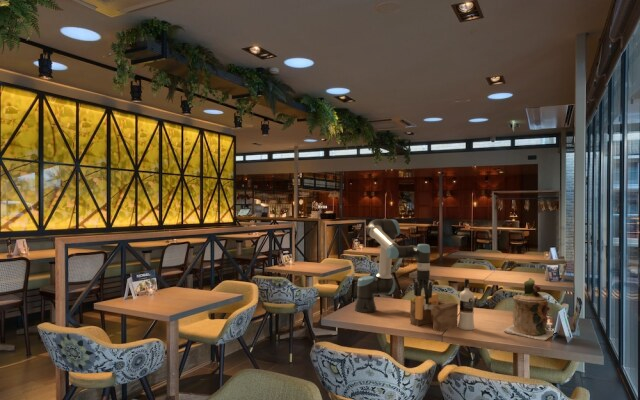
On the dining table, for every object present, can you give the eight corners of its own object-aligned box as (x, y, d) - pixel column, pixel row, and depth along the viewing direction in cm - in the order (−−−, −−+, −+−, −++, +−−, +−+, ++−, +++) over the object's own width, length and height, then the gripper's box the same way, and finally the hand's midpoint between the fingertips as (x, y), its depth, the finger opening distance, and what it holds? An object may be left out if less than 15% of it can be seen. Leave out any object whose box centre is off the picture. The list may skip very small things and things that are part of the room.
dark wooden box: (410, 324, 288) (410, 301, 288) (427, 319, 300) (427, 298, 301) (441, 331, 272) (441, 307, 272) (457, 326, 284) (457, 303, 284)
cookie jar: (501, 333, 272) (502, 278, 272) (516, 325, 290) (516, 274, 290) (546, 341, 255) (547, 283, 256) (559, 332, 274) (559, 279, 274)
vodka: (469, 326, 285) (469, 277, 286) (477, 330, 276) (478, 280, 277) (455, 326, 283) (456, 278, 284) (463, 331, 274) (464, 280, 275)
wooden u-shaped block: (415, 318, 276) (415, 296, 276) (433, 313, 289) (433, 293, 289) (420, 319, 274) (420, 297, 274) (438, 314, 286) (438, 293, 286)
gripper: (408, 268, 282) (407, 307, 282) (431, 271, 270) (430, 312, 270) (415, 267, 287) (415, 305, 287) (438, 270, 275) (438, 310, 275)
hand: (422, 308), depth 278 cm, fingers closed on wooden u-shaped block, 3 cm apart
